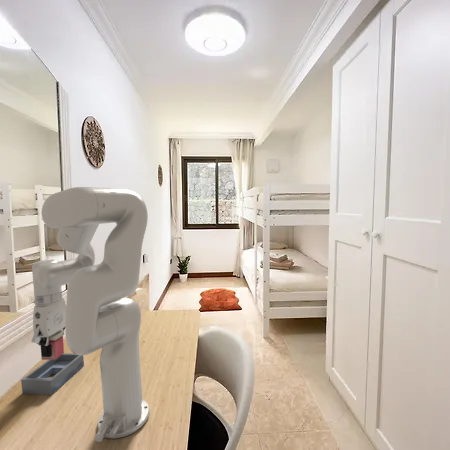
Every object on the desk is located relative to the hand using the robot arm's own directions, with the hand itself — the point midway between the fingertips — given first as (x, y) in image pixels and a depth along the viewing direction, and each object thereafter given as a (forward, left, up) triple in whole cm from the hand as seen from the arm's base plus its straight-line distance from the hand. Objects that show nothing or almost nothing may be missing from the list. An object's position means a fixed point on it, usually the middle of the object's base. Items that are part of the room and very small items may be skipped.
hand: (52, 351), depth 88 cm
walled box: (0, 0, -9) cm, 9 cm away
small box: (0, 0, -2) cm, 2 cm away
